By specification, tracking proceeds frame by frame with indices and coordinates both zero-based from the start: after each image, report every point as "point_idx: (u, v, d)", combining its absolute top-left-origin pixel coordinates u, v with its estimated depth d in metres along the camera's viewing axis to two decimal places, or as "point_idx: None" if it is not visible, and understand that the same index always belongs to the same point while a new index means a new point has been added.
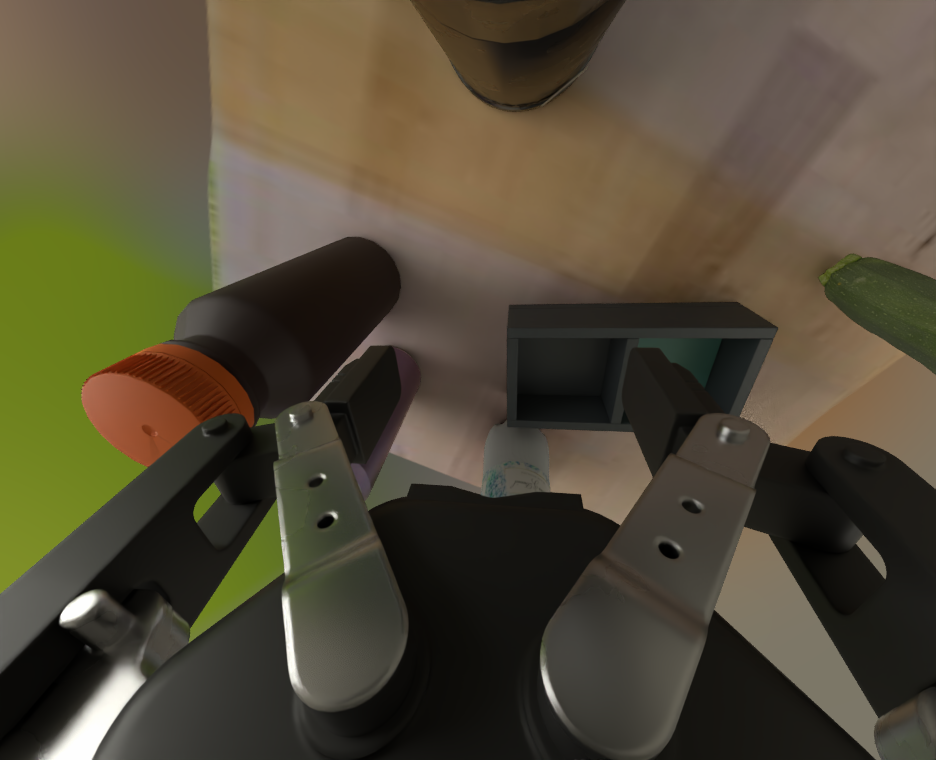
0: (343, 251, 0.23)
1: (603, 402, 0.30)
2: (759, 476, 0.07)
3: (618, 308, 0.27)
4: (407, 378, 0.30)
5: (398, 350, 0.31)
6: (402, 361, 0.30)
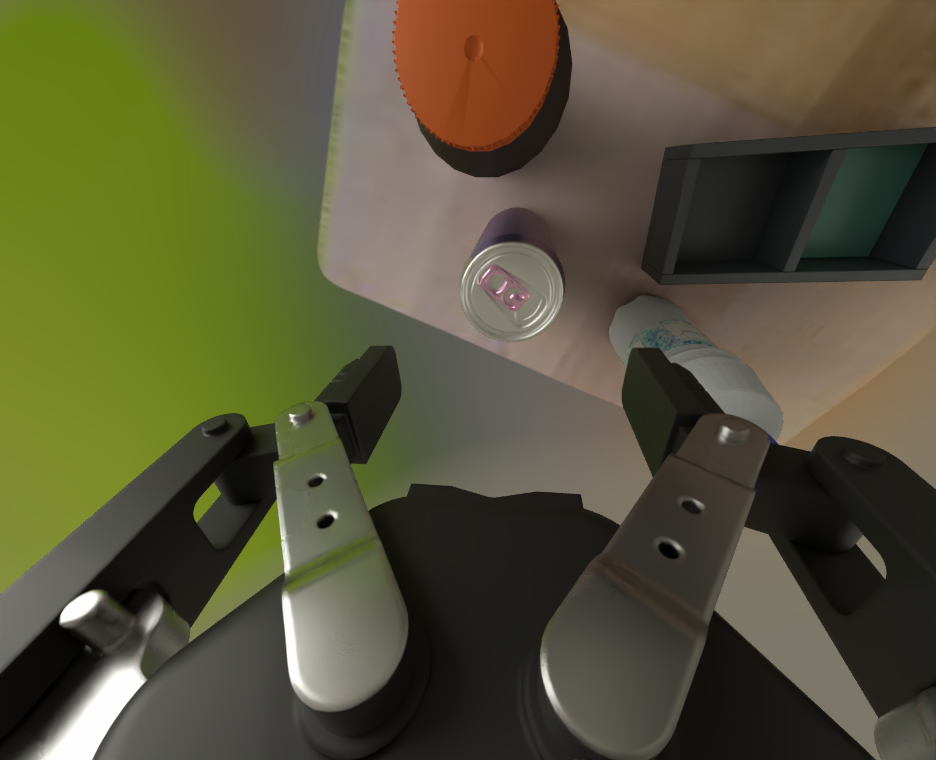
0: None
1: (760, 261, 0.28)
2: (759, 476, 0.07)
3: None
4: None
5: (531, 211, 0.29)
6: (539, 218, 0.28)
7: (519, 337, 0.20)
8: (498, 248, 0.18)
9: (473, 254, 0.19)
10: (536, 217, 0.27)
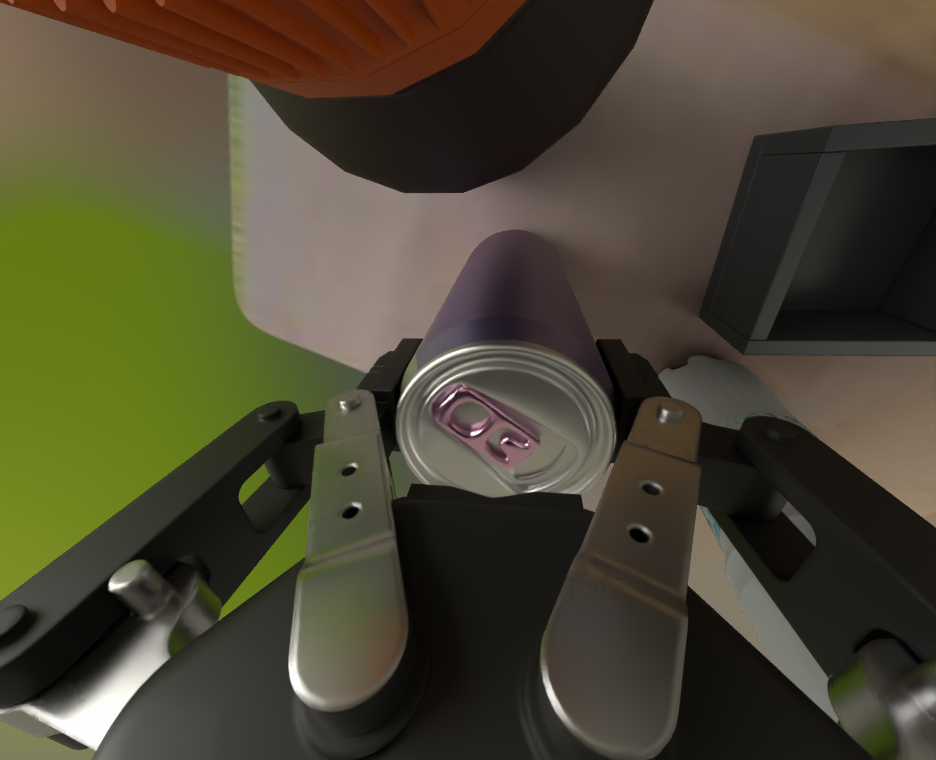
0: None
1: (898, 315, 0.18)
2: None
3: None
4: None
5: (536, 235, 0.19)
6: (550, 248, 0.18)
7: None
8: (472, 354, 0.08)
9: (420, 355, 0.09)
10: (546, 247, 0.17)
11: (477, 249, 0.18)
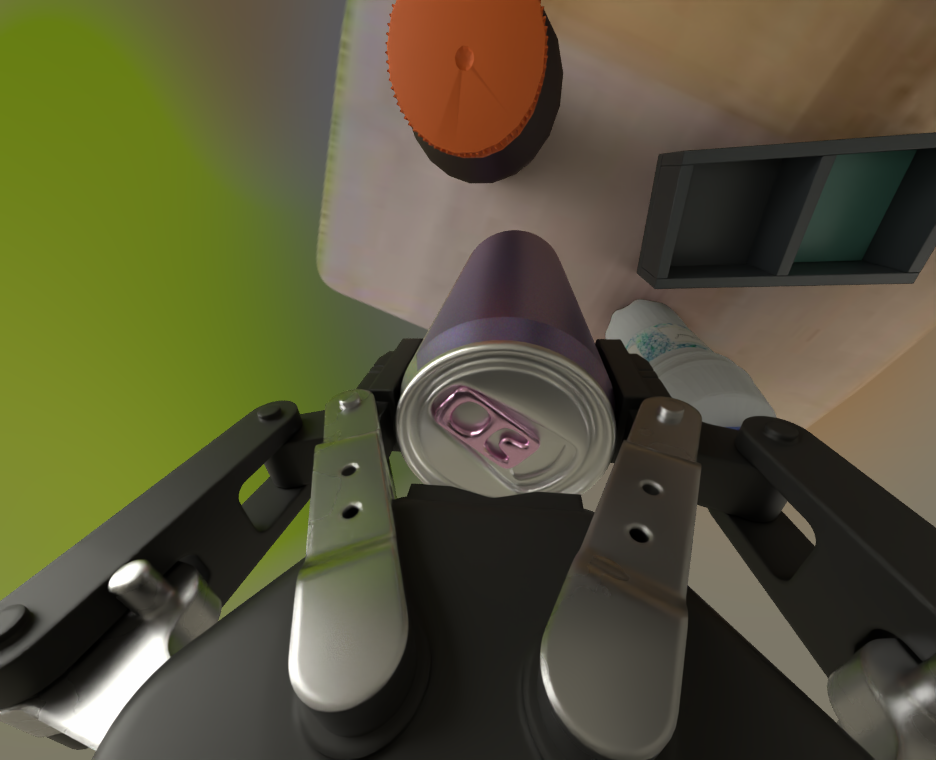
0: None
1: (754, 265, 0.28)
2: None
3: None
4: None
5: (536, 236, 0.19)
6: (550, 249, 0.18)
7: None
8: (471, 354, 0.08)
9: (420, 355, 0.09)
10: (546, 248, 0.17)
11: (477, 249, 0.18)
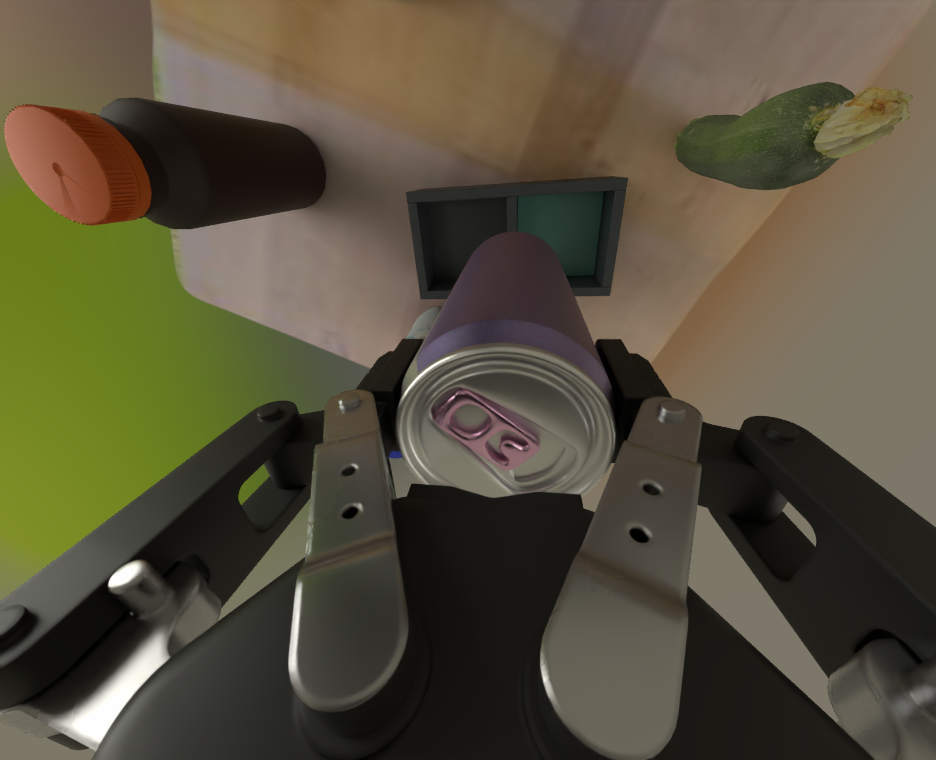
0: (261, 121, 0.27)
1: None
2: None
3: (509, 183, 0.31)
4: None
5: (536, 237, 0.19)
6: (550, 250, 0.18)
7: None
8: (471, 357, 0.08)
9: (420, 358, 0.09)
10: (546, 249, 0.17)
11: (477, 251, 0.18)
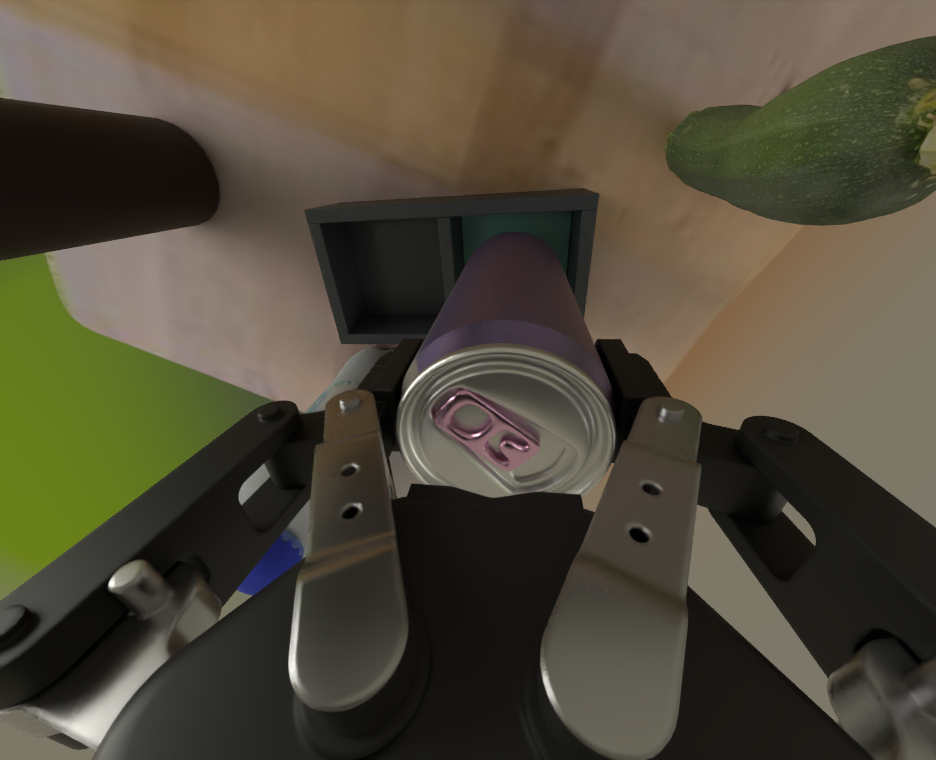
0: (99, 113, 0.20)
1: None
2: None
3: (449, 197, 0.23)
4: None
5: (536, 237, 0.19)
6: (550, 250, 0.18)
7: None
8: (471, 357, 0.08)
9: (421, 358, 0.09)
10: (546, 249, 0.17)
11: (477, 251, 0.18)
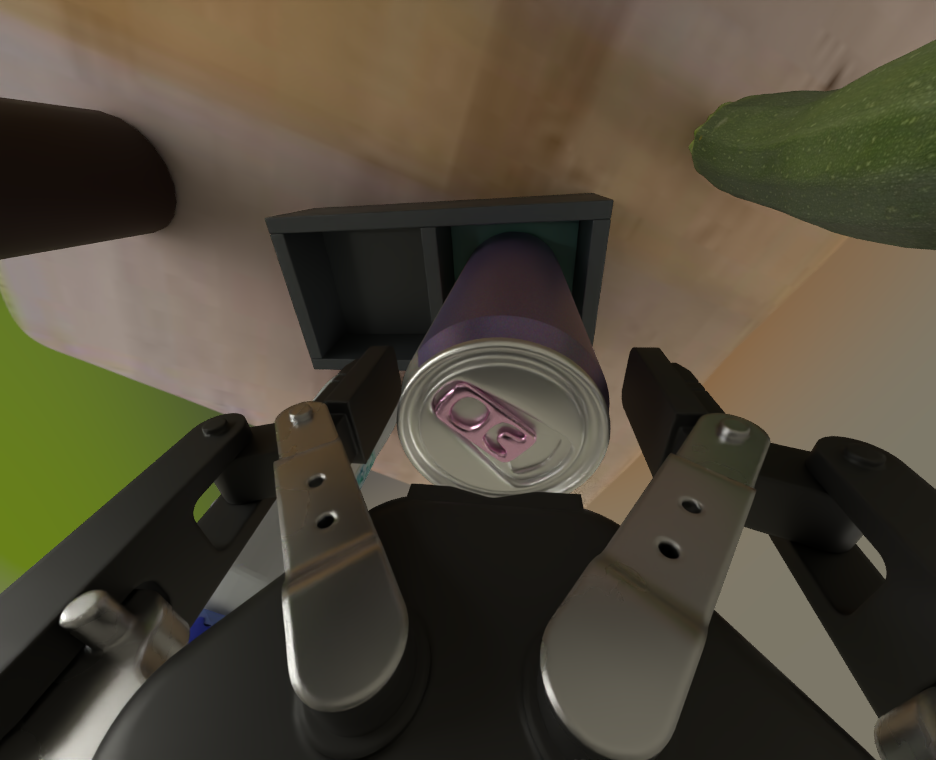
0: (18, 102, 0.17)
1: None
2: (759, 476, 0.07)
3: (436, 202, 0.20)
4: None
5: (535, 237, 0.19)
6: (548, 250, 0.18)
7: None
8: (470, 351, 0.08)
9: (421, 352, 0.09)
10: (544, 249, 0.17)
11: (477, 250, 0.18)
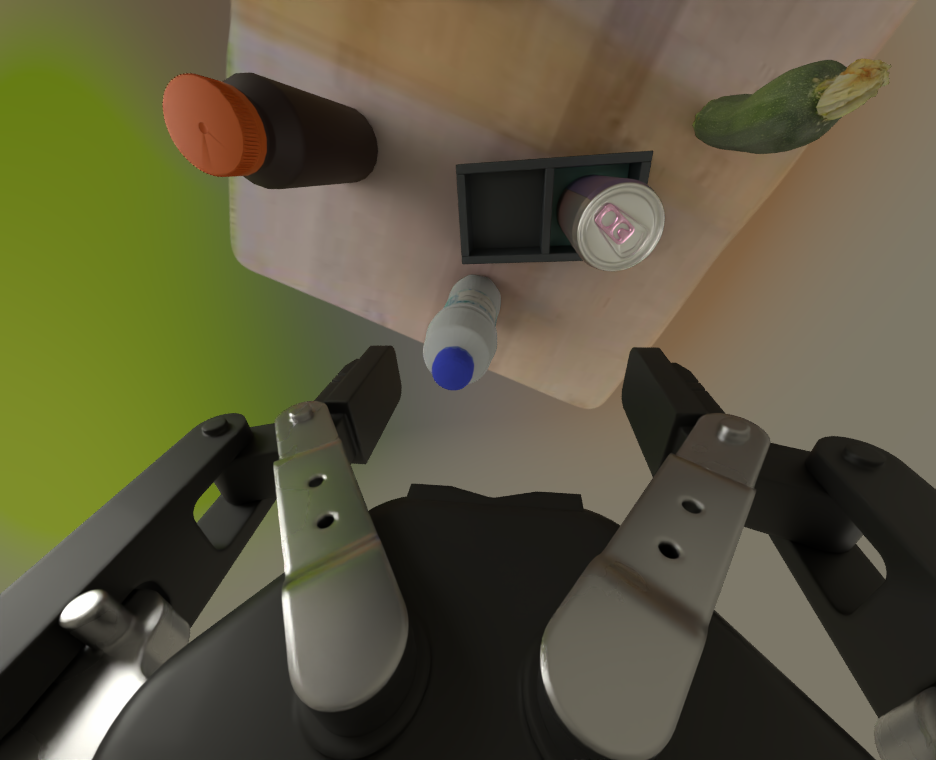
0: (330, 100, 0.31)
1: (540, 247, 0.38)
2: (759, 476, 0.07)
3: None
4: None
5: None
6: None
7: (621, 267, 0.25)
8: (615, 189, 0.22)
9: (590, 196, 0.23)
10: None
11: (573, 183, 0.33)
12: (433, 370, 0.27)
